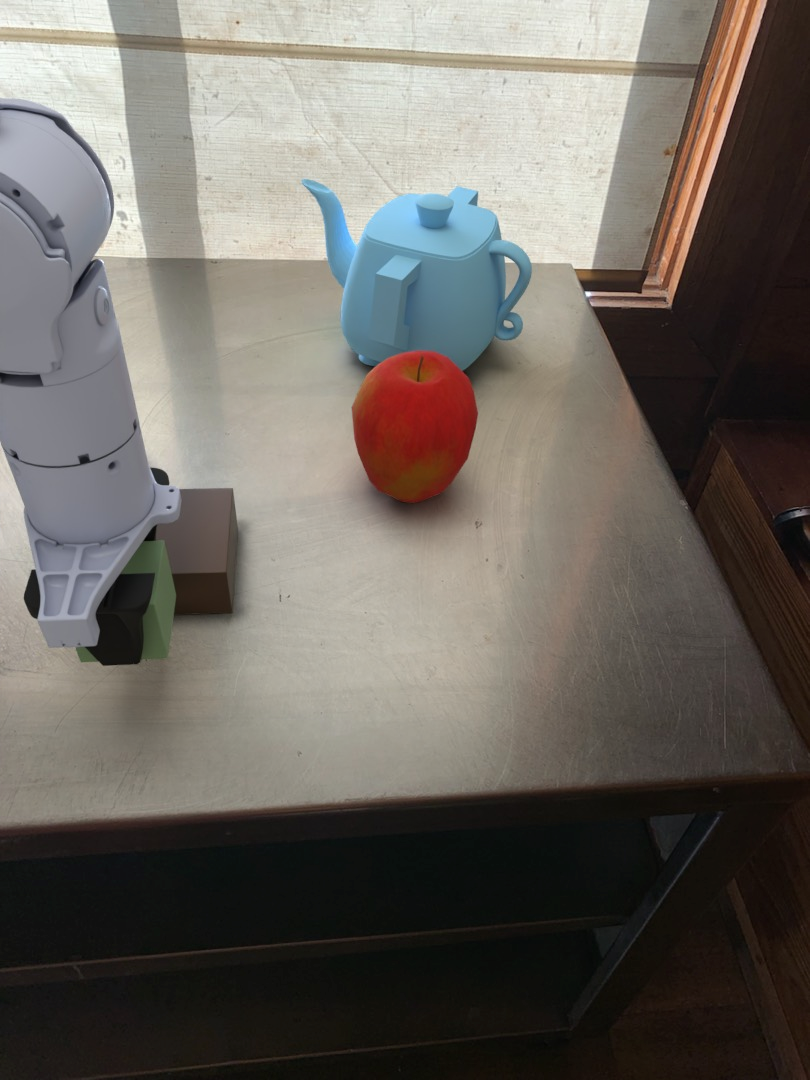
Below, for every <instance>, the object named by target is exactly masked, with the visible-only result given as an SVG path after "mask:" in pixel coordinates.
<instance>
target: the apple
mask: <svg viewBox="0 0 810 1080" xmlns="http://www.w3.org/2000/svg"><path fill="white" fill-rule="evenodd" d="M351 416H352V427H353V428H352V429H353V438H354V443H355V448H356V451H357V455H358V457H359V460H360V462H361V465H362V467H363V469H364V472H365V474H366V476H367V479H368V481H369V482H370V483H371V485H372V486H373V487H374V488H375V489H376V490H377V491H378V492H380V493H383V494H385V495H387V496H389V497H391V498H393V499H395V500H397V501H399V502H401V503H402V502H403V503H407V504H415V503H420V502H423V501H425V500H428V499H430V498H433V497H435V496H437V495H440V494H442V493H443V492H444V491H445V490H446V489H447V488H449V486H451V485H452V483H453V481H454V480H455V479H456V477H457V476H458V474H459V473H460V471H461V470H462V468H463V466H464V465H465V464H466V462H467V461H468V459H469V456H470V451H471V448H472V444H473V440H474V436H475V433H476V428H477V424H478V418H479V417H478V416H479V410H478V406H477V401H476V396H475V391H474V388H473V385H472V382H471V380H470V378H469V376H468V375H467V374H466V373H464V371H461V370H460V369H459V368H458V367H457V366H456V365H455V364H454V363H453V362H452V361H451V360H450V359H449V358H448V357H446V356H444V355H442V354H439V353H437V352H434V351H412V352H405V353H401V354H398V355H395V356H392V357H389V358H387V359H386V360H384V361H383V362H381V363H379V364H378V365H377V366H374V367H373V368H372V369H371V370H370V371H369V372H368V373H366V375H365V377H364V379H363V381H362V383H361V386H360V387H359V390H358V392H357V393H356V396H355V398H354V400H353V403H352V406H351Z"/></svg>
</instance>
